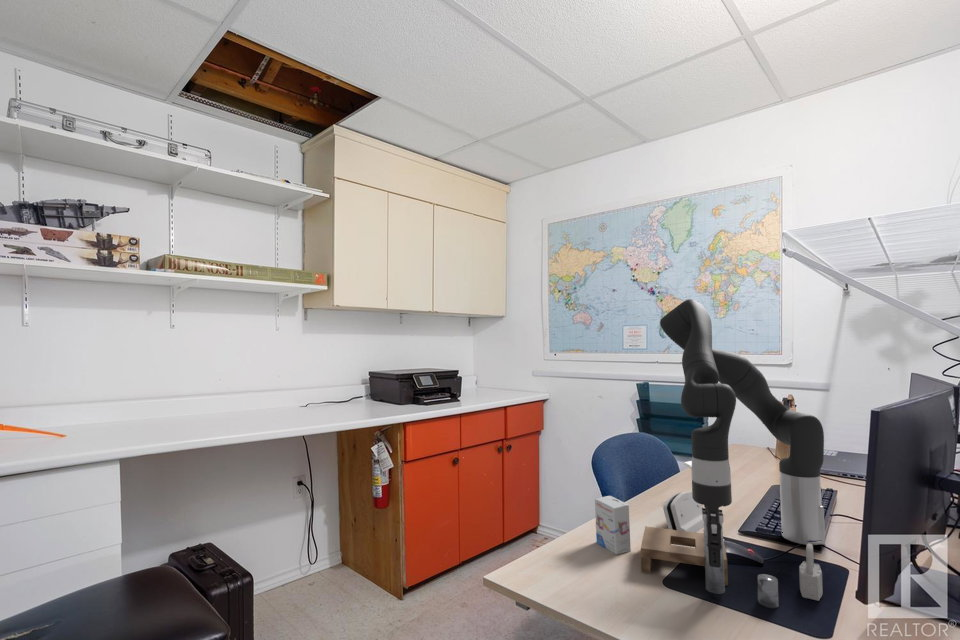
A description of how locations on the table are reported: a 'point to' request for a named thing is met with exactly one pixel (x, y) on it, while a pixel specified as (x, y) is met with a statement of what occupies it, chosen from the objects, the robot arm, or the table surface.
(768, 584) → the short pin
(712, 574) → the long pin
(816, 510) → the robot arm
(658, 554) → the wooden stand with hole
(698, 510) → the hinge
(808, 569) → the padlock
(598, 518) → the ink box
